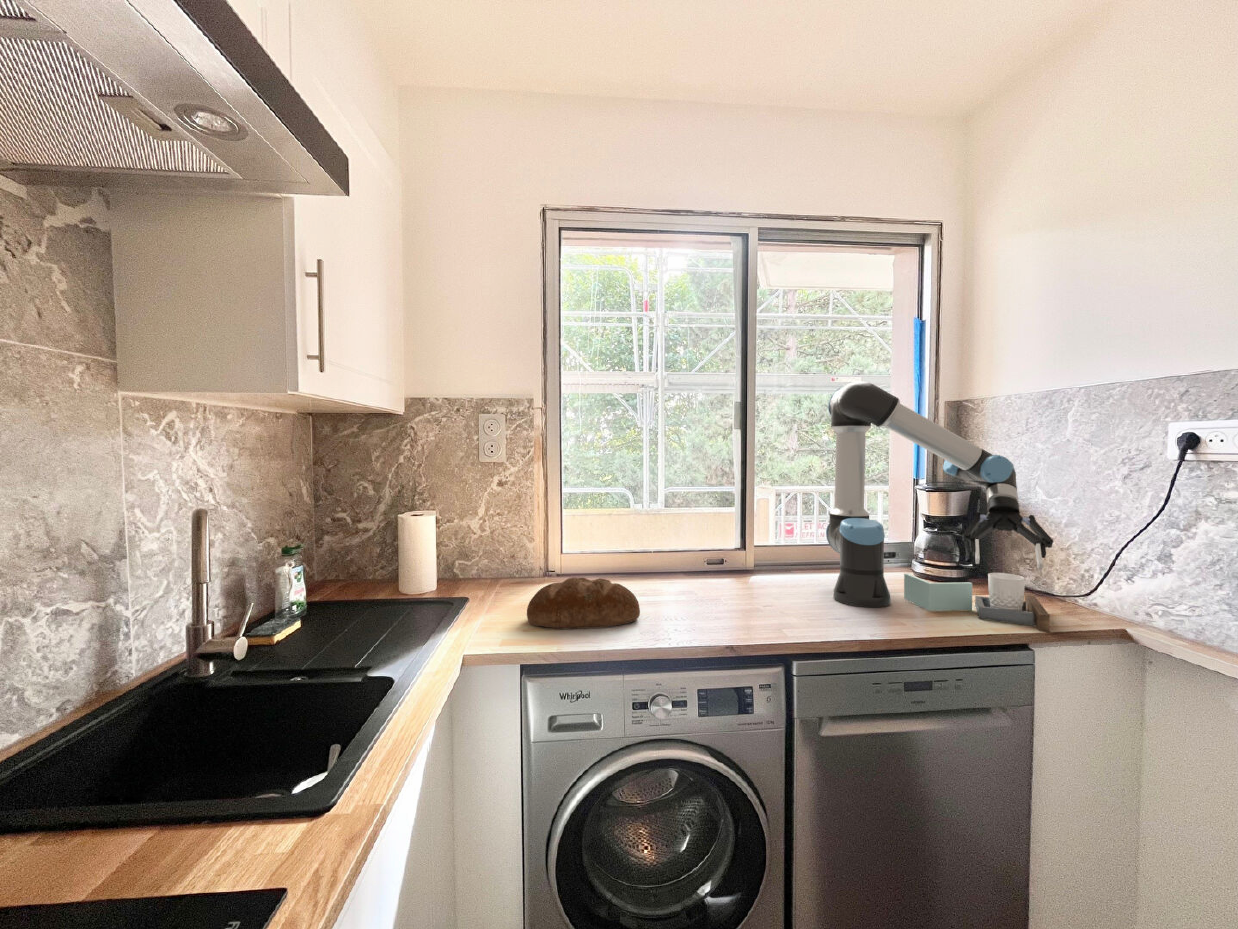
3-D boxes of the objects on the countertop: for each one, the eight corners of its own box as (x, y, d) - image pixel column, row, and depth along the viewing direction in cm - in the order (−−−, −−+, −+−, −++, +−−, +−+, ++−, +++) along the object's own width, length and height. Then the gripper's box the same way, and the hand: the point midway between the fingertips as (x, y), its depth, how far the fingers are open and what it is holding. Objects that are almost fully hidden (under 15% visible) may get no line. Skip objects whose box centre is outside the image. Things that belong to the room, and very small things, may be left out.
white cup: (1031, 619, 134) (1031, 580, 134) (996, 617, 136) (996, 579, 136) (1014, 610, 142) (1015, 573, 142) (982, 608, 143) (982, 572, 143)
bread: (529, 614, 143) (528, 573, 143) (635, 610, 147) (635, 569, 146) (524, 634, 128) (524, 587, 128) (644, 629, 131) (643, 583, 131)
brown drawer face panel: (1039, 630, 127) (1039, 614, 127) (1025, 609, 145) (1025, 594, 145) (1049, 632, 126) (1049, 615, 126) (1034, 610, 144) (1034, 595, 144)
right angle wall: (972, 610, 144) (972, 583, 144) (928, 611, 144) (929, 583, 144) (944, 598, 156) (944, 573, 156) (904, 598, 156) (904, 573, 156)
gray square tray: (979, 619, 136) (979, 607, 136) (975, 606, 147) (975, 595, 147) (1036, 626, 131) (1036, 613, 131) (1027, 612, 141) (1027, 601, 141)
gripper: (1055, 513, 150) (1065, 577, 138) (951, 509, 163) (952, 566, 150) (1059, 496, 145) (1070, 560, 133) (952, 493, 158) (953, 551, 146)
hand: (1008, 564), depth 142 cm, fingers open, 13 cm apart
